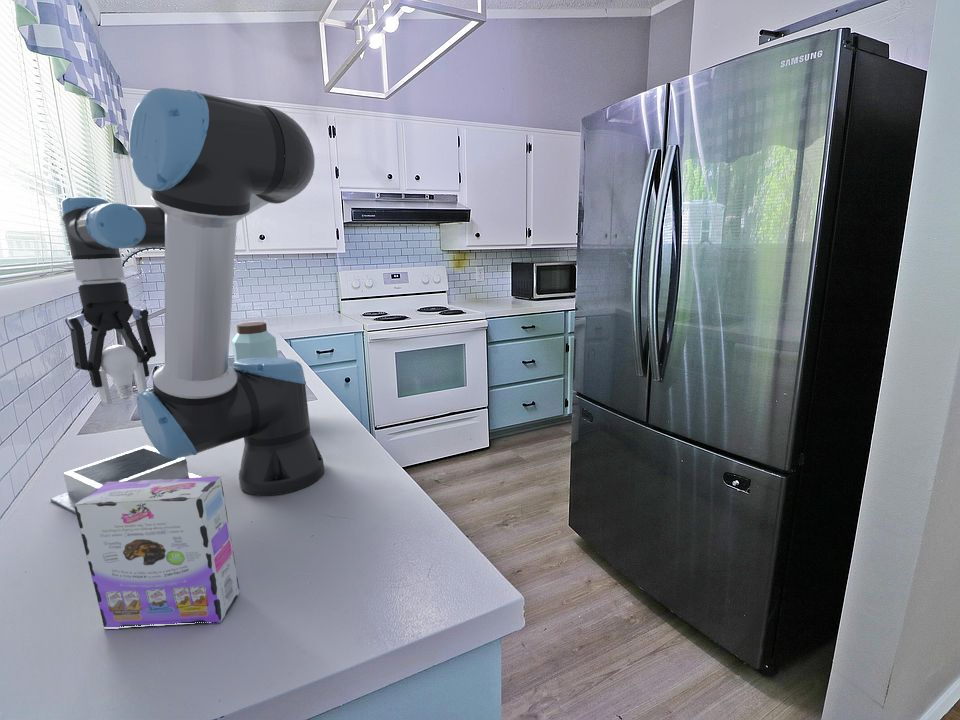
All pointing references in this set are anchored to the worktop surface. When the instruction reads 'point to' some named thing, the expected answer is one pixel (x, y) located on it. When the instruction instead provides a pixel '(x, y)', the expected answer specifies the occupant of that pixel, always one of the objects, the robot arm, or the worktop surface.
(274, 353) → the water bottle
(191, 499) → the candy box
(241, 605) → the worktop surface
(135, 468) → the flange
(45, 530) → the worktop surface
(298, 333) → the worktop surface
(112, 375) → the lightbulb
